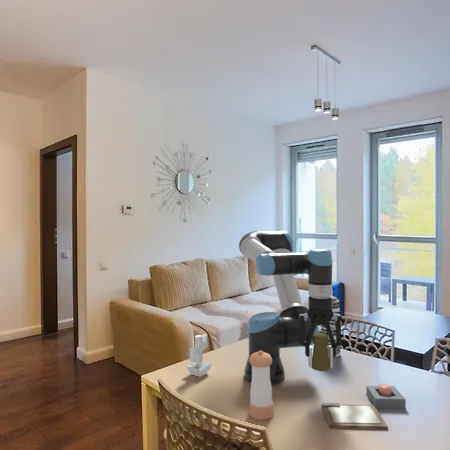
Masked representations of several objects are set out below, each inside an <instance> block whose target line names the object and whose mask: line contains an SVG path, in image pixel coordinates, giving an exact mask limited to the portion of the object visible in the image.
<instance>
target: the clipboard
mask: <svg viewBox="0 0 450 450" xmlns="http://www.w3.org/2000/svg"><path fill="white" fill-rule="evenodd" d="M320 405H321V408H322V411H323V414H324V416H325V419H326V421H327V422H326V423H327V424H328V427H329V429H358V430H359V429H361V430H365V429H366V430H389V426H388V424H387V423H386V421H385V420H384V417H382V415H381V414H380V412H379V411H378V408H375V406H374V405H373V404H349V403H348V404H347V403H346V404H345V403H344V404H343V403H341V404H340V403H339V402H322V403H321V404H320Z"/></svg>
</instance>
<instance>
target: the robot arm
mask: <svg viewBox="0 0 450 450" xmlns="http://www.w3.org/2000/svg"><path fill="white" fill-rule="evenodd" d="M238 243H239V244H238V249H239V251H240V253H241V254H242V255H243V257H245V258H247V259H251V261H253V262H254V263H255V269H256V272H257V274H258V275H259V276H267V277H270V276H272V277H273V279H274V285H275V288H276V292H277V296H278V300H279V304H280V308H281V311H280V312H279V313H278V312H275V311H263V312H259V313H256V314H253V315H252V316H251V317H250V318H249V319H248V328H247V331H248V357H247V360H246V364H245V367H244V378H245V380H247V381H248V382H250V383H251V382H252V365H251V364H250V362H249V358H250V356H251V354H253V353H255V352H258V351H263V352H265V353H268V354H269V355H270V356H271V357H272V363H271V365H270V382H271V385H275V384H280V383H282V382H283V381H284V380H285V378H286V376H285V375H286V374H285V373H286V372H285V368H284V364H283V362H282V358H281V356H280V352H281V351H280V350H281V349H285V348H286V349H287V348H300V347H303V348H304V354H305V357H308V358H307V359H308V367H309V368H310V369H312V356H313V347H312V346H314V343H313V341H312V337H313V335H314V334H316V333H319V326H320V325H325V327H326V330H327V333H328V336H329V339H330V342H331V345H329V364H330V369H333V368H334V359H333V358H335V356H336V348H337V346H342V345H343V340H342V326H341V322H342V319H343V317H342V315H341V313H340V314H334V313H333V311H332V298H331V297H330V296H333V256H332V254H333V253H332V251H331V250H330V249H328V248H312V249H309V251H307V250H306V251H298V252H294V245H293V244H294V242H293V237H292V236H291V234H290V233H289V232H288V231H286V230H279V229H277V230H256V231H255V230H254V231H251V232H248V233H246V234H244V235H243V236H242V237H241V239H240V240H239V242H238ZM295 275H308V276H307V277H308V284H307V285H308V293H307V294H308V295H309V296H308V300H307V301H308V307H306V306H305V305H303V301H302V298H301V295H300V291H299V288H298V286H297V281H296V278H295ZM332 317H334V320H335V329H336V341H335V340H334V337H333V334H332V331H331V328H330V324H329V321H330V320H331V319H332Z"/></svg>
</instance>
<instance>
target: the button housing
mask: <svg viewBox="0 0 450 450" xmlns="http://www.w3.org/2000/svg"><path fill="white" fill-rule="evenodd" d="M365 386H366V387H365V389H366V396H367V398H368V399H369V401H370V402H371V405H374V406H375V408H376V409H388V410H392V409H393V410H394V409H396V410H406V403H407V401H406V400H407V399H406V398H405V397H404V396H403V395H402V394H401V392H400V391H399V390H398V389H397V388H396V387H395V386H394V385H390V386H391V388H392V396H381V395H379V385H365Z"/></svg>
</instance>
